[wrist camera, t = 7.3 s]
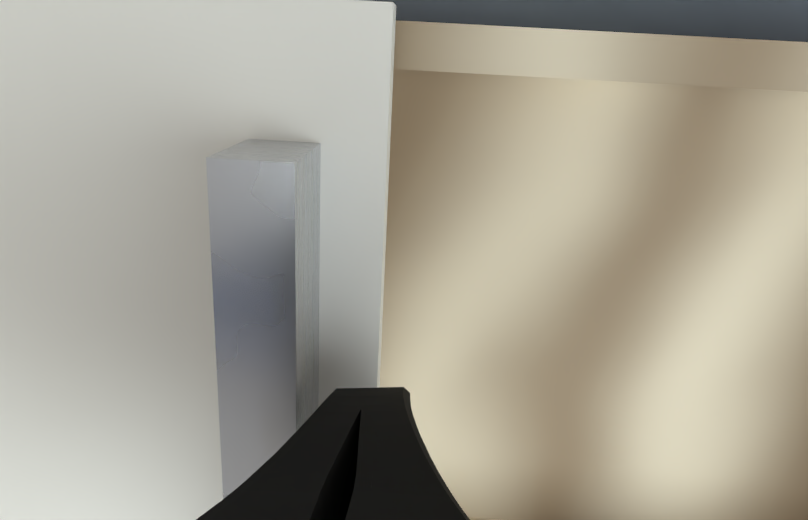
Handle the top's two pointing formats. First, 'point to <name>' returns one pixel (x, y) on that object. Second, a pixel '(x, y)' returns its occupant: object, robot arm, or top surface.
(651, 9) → the top surface
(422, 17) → the top surface
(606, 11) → the top surface
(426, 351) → the storage box
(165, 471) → the sliding cover
